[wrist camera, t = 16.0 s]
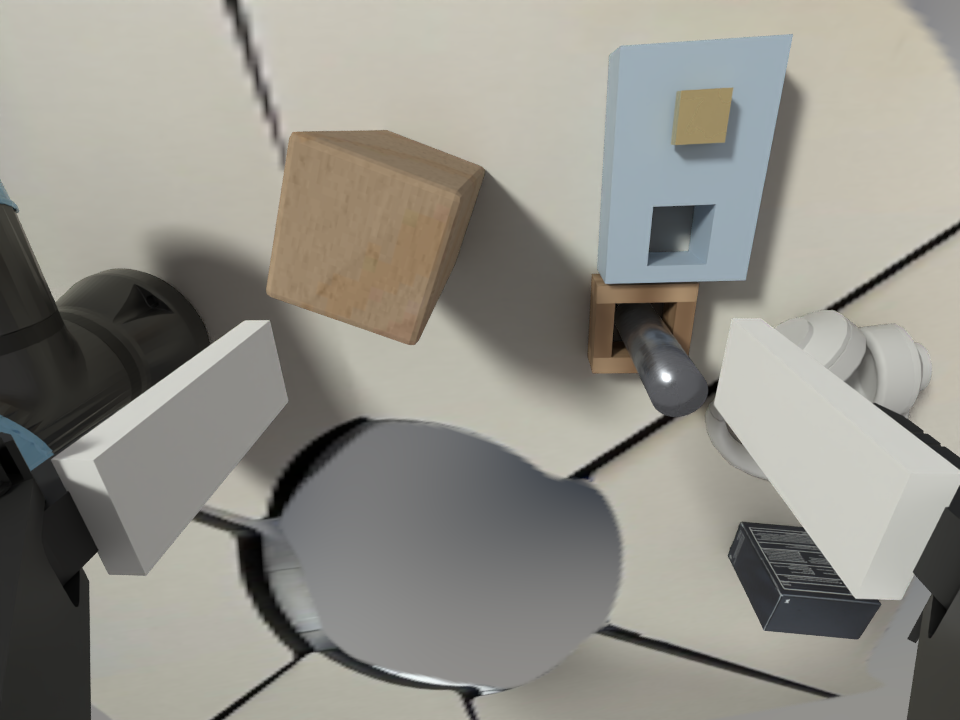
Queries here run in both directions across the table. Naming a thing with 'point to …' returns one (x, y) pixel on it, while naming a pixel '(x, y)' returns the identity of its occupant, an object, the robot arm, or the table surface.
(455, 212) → the wooden block
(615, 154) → the socket block
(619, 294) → the rack
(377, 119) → the table surface
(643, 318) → the cylinder
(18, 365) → the robot arm
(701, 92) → the small square tan block
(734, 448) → the headphones
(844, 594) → the small box
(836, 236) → the table surface
